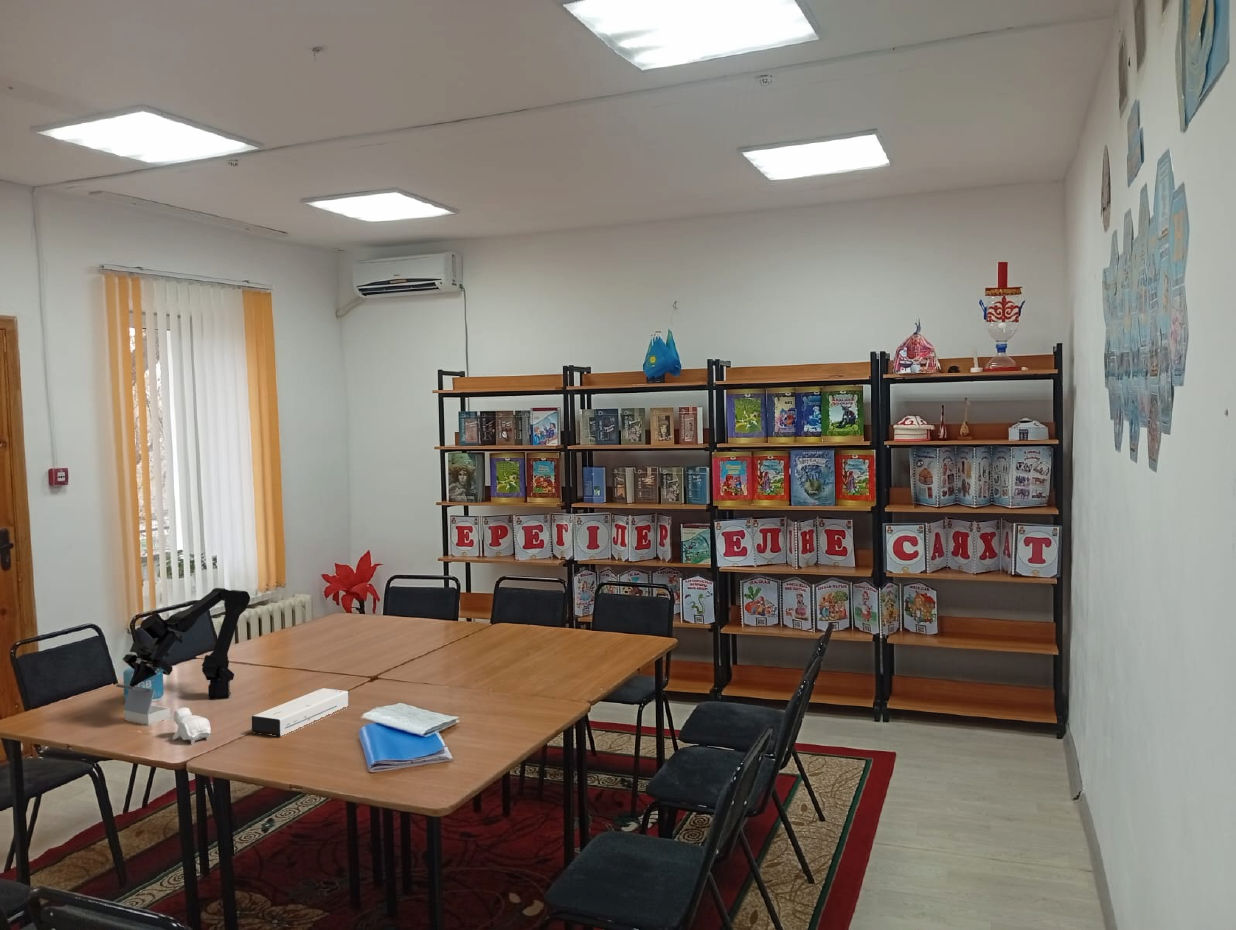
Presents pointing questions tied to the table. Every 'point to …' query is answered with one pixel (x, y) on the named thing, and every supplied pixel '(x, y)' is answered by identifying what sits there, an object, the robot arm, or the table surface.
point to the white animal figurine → (190, 726)
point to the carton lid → (138, 699)
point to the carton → (149, 715)
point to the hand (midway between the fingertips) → (131, 686)
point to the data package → (145, 682)
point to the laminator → (299, 712)
